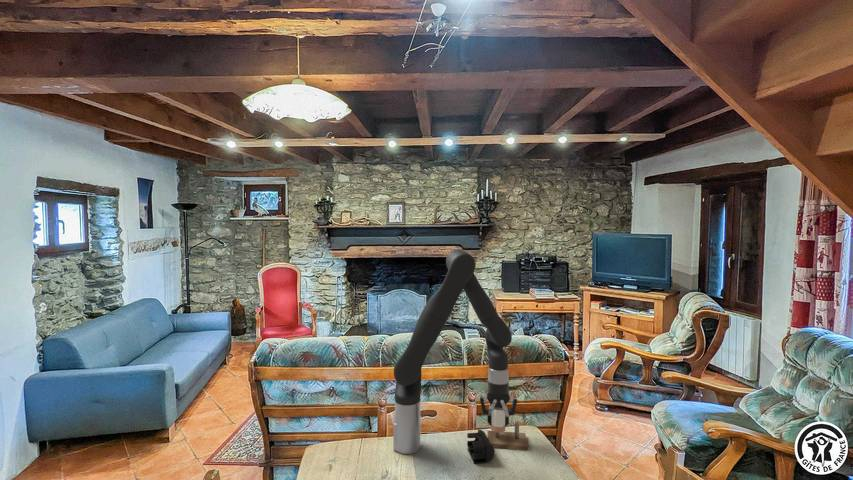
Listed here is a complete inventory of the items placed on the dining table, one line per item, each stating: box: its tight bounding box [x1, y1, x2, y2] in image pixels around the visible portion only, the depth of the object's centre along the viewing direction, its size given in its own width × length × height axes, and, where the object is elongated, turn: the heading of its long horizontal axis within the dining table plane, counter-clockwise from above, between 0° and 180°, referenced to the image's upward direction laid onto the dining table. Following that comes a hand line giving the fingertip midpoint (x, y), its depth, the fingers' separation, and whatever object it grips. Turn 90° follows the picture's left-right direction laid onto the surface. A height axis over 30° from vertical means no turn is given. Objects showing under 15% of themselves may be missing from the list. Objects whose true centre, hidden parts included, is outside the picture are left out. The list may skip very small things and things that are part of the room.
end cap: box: [466, 429, 496, 465], centre depth 136 cm, size 10×7×7 cm
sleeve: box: [490, 407, 506, 433], centre depth 145 cm, size 5×5×8 cm
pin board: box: [487, 421, 529, 451], centre depth 145 cm, size 14×9×7 cm, turn 83°
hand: (498, 424), depth 145 cm, fingers closed on sleeve, 5 cm apart
